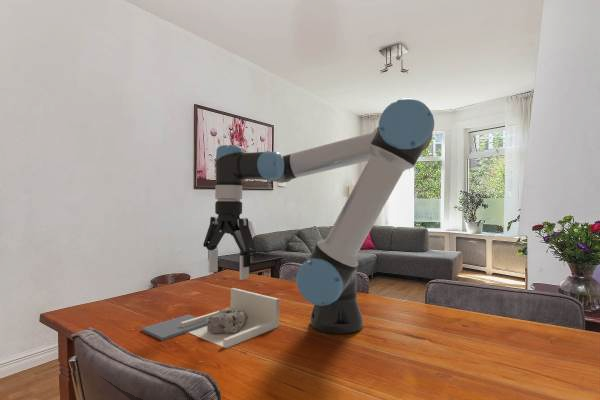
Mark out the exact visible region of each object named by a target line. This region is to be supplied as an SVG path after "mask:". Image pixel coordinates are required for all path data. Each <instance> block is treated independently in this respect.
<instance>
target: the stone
mask: <svg viewBox="0 0 600 400" xmlns="http://www.w3.org/2000/svg"><path fill="white" fill-rule="evenodd" d="M218 311H219V312H218V313H217V314H216V315H214V316H210V317H209V318H208V319H209V320H208V323H207V331H208V332H213V333H236V332H237V331H238V330H240V329H241V328H242V326H243V325H244V324H245V322H246V321H247V319H248V316H247V314H246V312H245V310H228V309H227V308H222V309H220V310H218Z"/></svg>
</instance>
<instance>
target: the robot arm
mask: <svg viewBox="0 0 600 400" xmlns="http://www.w3.org/2000/svg"><path fill="white" fill-rule="evenodd" d="M379 117H380V119H379V120H378V126H377V127H375V128H374V130H373V131H372V132H369V133H365V134H360V135H358V136H353V137H350V138H347V139H342V140H338V141H335V142H330V143H326V144H323V145H319V146H316V147H315V146H314V147H312V148H308V149H305V150H301V151H296V152H293V153H289V154H286V155H282V154H281V153H280V152H278V151H269V150H266V151H256V152H244V149H243V147H242V146H241V145H236V144H235V145H233V144H230V145H228V144H224V145H223V144H222V145H219V146H218V147H217V148H216V150H215V151H216V154H215V162H214V163H215V193H214V198H215V199H216V200H217V201H215V203H214V205H215V207H214V209H215V210H214V211H215V214H216V215H217V216H210V221H209V226H208V229H207V232H206V235H205V237H204V241H203V247H204V248H206V249H207V250H208V251H207V252H208V253H207V256H208V257H207V260H208V273H210V274H211V273H216V272H218V271H219V262H218V261H219V249H218V245H219V244H220V242H221V241H222V238H223V237H224V235H225V234H227V235H230V236H231V237H233V239H234V241H235V243H236V245H237V246H238V247H237V248H238V249H239V252H240V254H239V275H238V276H239V280H241V281H242V280H246V279H247V280H248V279H250V277H249V275H250V266H251V255H252V254H255V253H256V252H257V248H256V244H255V242H254V239H253V236H252V232H251V229H250V227H249V219H248V218H247V217H244V218H241V217H240V215H242V213H243V202H242V201H241V200H242V199H243V180H257V181H258V180H261V181H269V182H276V183H279V184H282V183H288V182H290V181H292V180H294V179H298V178H301V177H306V176H310V175H314V174H318V173H321V172H326V171H332V170H334V169H340V168H344V167H348V166H353V165H357V164H361V163H365V162H366V163H365V166H364V168H363V170H362V172H361V173H360V175H359V178H358V179H357V181H356V183H355V185H354V187H352V190H351V192H350V194H349V196H348V198H347V200H346V201H345V204H344V205H343V207H342V209H341V211H340V213H339V214H338V216H337V218H336V220H335V222H334V223H333V226H332V227H331V229H330V231H329V232H328V235H327V237H326V238H324V239H321V240H318V241H317V243H316V245H315V247H314V248H313V250H312V252H311V253H310V255H309V257H308V259H307V260H305V261H304V262H303V263H302V264H301V266H300V267H299V268H298V270H297V273H296V279H295V280H296V286H297V289H298V292H299V294H300V295H301V296H302V297H303V298H304V300H305V301H307V302H309V303H310V304H312V305H314V306H313V309H312V311H311V314H310V325H311V327H312V328H313V329H314V330H317V331H319V332H323V333H327V334H336V335H341V334H342V335H343V334H345V335H346V334H352V333H355V332H358V331H360V330H361V329H362V328H363V327H364V326H363V324H364V323H363V316H362V313H361V308H360V306H359V301H358V299H357V297H358V296H357V291H358V290H357V285H358V284H357V268H358V266H359V261H358V254H359V252H360V250H361V248H362V246H363V244H364V243H365V240H366V239H367V237H368V235H369V234H370V232H371V230H372V228H373V226H374V225H375V224H376V221H377V220H378V218H379V216H380V214H381V212H382V211H383V209H384V207H385V205H386V203H387V201H388V200H389V198H390V196H391V194H392V193H393V191H394V189H395V187H396V186H397V184H398V182H399V180H400V179H401V177H402V175H403V173H404V172H405V171H406V170H410V169H412V168H414V167H415V165H416V163H417V162H418V160H419V158H420V157H421V154H422V153H423V152H424V151H425V150H426V149H427V148H428V146H429V145H430V143H431V141H432V137H433V132H434V129H435V119H434V116H433V113H432V111H431V109H430V108H429V106H427V105H426V104H425V103H424V102H423V101H421V100H419V99H415V98H401V99H398V100H395V101H393V102H391V103H390V104H389V105H387V106H386V107H385V109H383V112H382V113H381V116H379Z"/></svg>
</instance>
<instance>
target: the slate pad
mask: <svg viewBox="0 0 600 400" xmlns="http://www.w3.org/2000/svg"><path fill="white" fill-rule="evenodd" d="M197 317H198V316H195V315H191V314H185V315H183V316H182V315H181V316H178V317H175V318H171V319H168V320H165V321H162V322H161V321H160V322H157V323H154V324H151V325H147V326H144V327H141V332H142V333H144V334H145V333H146V335H150V336H152V337H153V338H156V339H158V340H159V341H165V340H170V339H171V338H174V337H178V336H181V335H184V334H186V333H188V332H190V331H193V330H196V329H199V328H202V327H205V326H207V323H208V321H206V320H205V321H202V322H199V323H196V324H193V325H189V326H186V327H181V322H183V321H187V320H190V319H193V318H197Z"/></svg>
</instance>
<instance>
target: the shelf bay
mask: <svg viewBox="0 0 600 400" xmlns="http://www.w3.org/2000/svg"><path fill="white" fill-rule="evenodd" d="M226 309H228V310H245V312H246V314H247V316H248V319H247V321H246V322H245V324H244V325H243V326H242V328H241V329H240V330H238V331H237V332H236V333H213V332H208V331H207V326H205V327H202V328H199V329H196V330H193V331H190V332H187V333H188V334H190V335H193V336H195V337H198V338H200V339H202V340H205V341H207V342H210V343H212V344H213V345H217V346H219V347H222V348H224V349H229V348H231V347H234V346H236V345H238V344H241V343H242V342H245V341H248V340H250V339H252V338H254V337H255V338H256V337H258V336H260V335H262V334H265V333H268V332H269V331H272V330H275V329H277V328H279V327H280V298H277V297H273V296H268V295H264V294H261V293H256V292H252V291H249V290H244V289H239V288H235V287H231V288H230V307H227V308H226ZM219 311H220V310H217V311H213V312H210V313H206V314H204V315H201V316H196V317H197V318H193V319H190V320H187V321H183V322H181V327H186V326H189V325H193V324H196V323H199V322H202V321H205V320H206V321H208V320H209V319H208V318H209V317H210V316H214V315H216V314H217V313H218V312H219Z"/></svg>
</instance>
